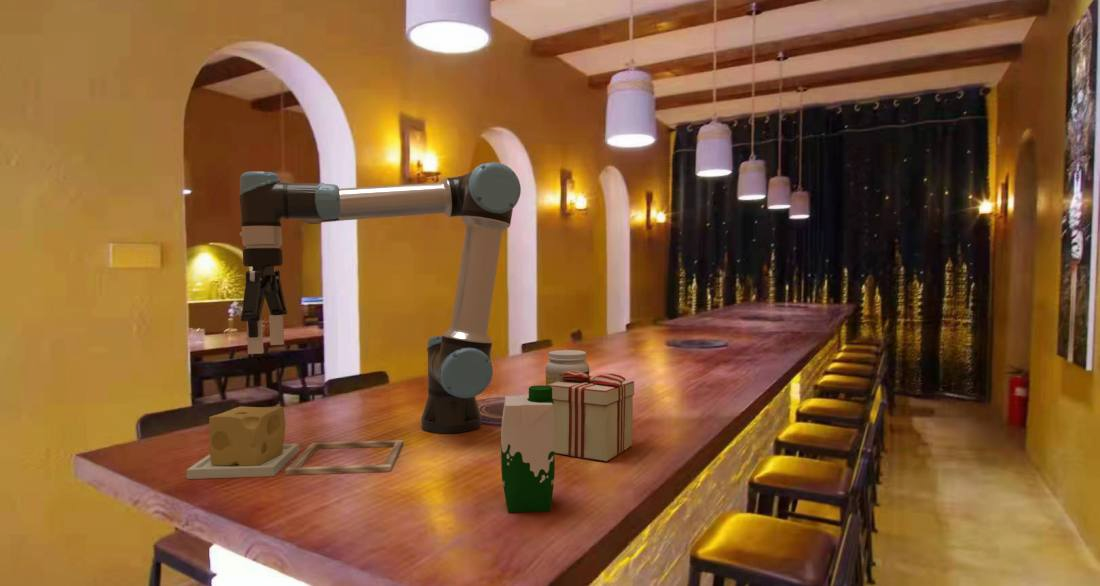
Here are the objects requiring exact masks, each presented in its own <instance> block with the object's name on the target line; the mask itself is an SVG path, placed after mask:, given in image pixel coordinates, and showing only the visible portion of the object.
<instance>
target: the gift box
mask: <svg viewBox="0 0 1100 586" xmlns="http://www.w3.org/2000/svg"><path fill="white" fill-rule="evenodd" d="M559 376H561V377H563V378H560V379H563V380H561V381H558V382H555V383H552V384H548V385H546V384H545V386H550V387H552V398H553V402H554V404H553V408H554V428H555V455H556V454H557V455H564V456H569V457H576V458H580V459H587V460H595V461H601V462H608V461H609V460H611V459H612V458H615V457H616V456H618V455H620V454H621V453H624V452H625V451H626V450H628V449H630V448H631V447H633V415H634V414H633V411H634V410H633V407H634V406H633V404H634V403H633V401H634V400H633V399H634V398H633V397H634V395H635V381H633V380H629V379H628V380H627V379H626V377H624V376H622V375H619V374H616V373H605V374H603V373H602V374H599V375H596V376H593V375H590V374H589V375H588V374H586V373H584V372H581V371H577V370H569V371H565V372H563V373H561V374H560V375H559ZM630 446H631V447H630ZM629 447H630V448H629ZM627 448H628V449H627ZM624 450H625V451H624Z"/></svg>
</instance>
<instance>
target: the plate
mask: <svg viewBox="0 0 1100 586" xmlns="http://www.w3.org/2000/svg"><path fill="white" fill-rule="evenodd" d="M299 448H300V444H299V443H284V445H283V453H282V454H280V455H278V456H276V457H274V458H272V459H270V460H268V461H266V462H264V463H262V464H260V465H259V466H239V464H234V465H212V464H211V459H210V453H208V454H207V455H206V456H205V457H203V458H202V459H200V460H198V461H197V462H196V463H193V465H191V466H190V467H188V468H187V469H186V479H187V480H196V479H199V480H201V479H203V480H204V479H230V478H258V477H259V478H260V477H262V478H264V477H275V476H276V475H277V474H278V473H279V472H280V471H281V470H282V469H283V468H284V467H285V466H286V465H287V464H288V463H289V462H290V461H291V460H292V459H293V458H294V457H295V456H296V455H297V454H298V453H300V449H299Z"/></svg>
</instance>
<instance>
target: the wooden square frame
mask: <svg viewBox="0 0 1100 586" xmlns="http://www.w3.org/2000/svg"><path fill="white" fill-rule="evenodd" d="M403 446H404V440H403V439H398V440H397V439H394V440H393V439H391V440H390V439H389V440H361V441H360V440H359V441H358V440H357V441H354V440H353V441H321V442H320V441H319V442H318V441H317V442H312V443H310V445H308V446H307V448H306V449H304V451H303V452H301V454H300V455H299V456H298V457H296V459H294V461H293V462H292V463H291V464H290V465H288V466H287V468H285V470H284V472H285V476H297V475H302V476H303V475H325V474H326V475H329V474H331V475H332V474H334V475H335V474H357V473H358V474H361V473H365V474H366V473H387V472H389V473H390V472H391V471H392V469H393V467H394V465H395V463H396V461H397V459H398V457H399V454H400V452H401V451H402V448H403ZM378 447H379V448H385V447H386V448H388V447H389V448H390V447H392V448H391V451H390V452H389V454H388V455H387V458H386V459H385V462H384V463H383V464H361V465H359V464H358V465H357V464H355V465H329V466H327V465H326V466H325V465H324V466H303V465H305V463H306V462H307V461H308V460H309V459H310V458H311V457H312V456H313V455H314V453H315V452H316V451H317V450H319V449H321V450H322V449H351V448H355V449H357V448H358V449H359V448H378ZM302 466H303V467H302Z"/></svg>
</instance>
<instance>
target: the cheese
mask: <svg viewBox="0 0 1100 586" xmlns="http://www.w3.org/2000/svg"><path fill="white" fill-rule="evenodd" d="M208 421H209V422H208V430H209V433H208V434H209V439H208V440H209V443H208V444H209V445H208V446H209V454H210V459H211V464H212V465H234V464H239V466H259V465H260V464H262V463H264V462H266V461H268V460H270V459H272V458H274V457H276V456H278V455H280V454H282V453H283V445H284V444H285V435H286V417H285V409H284V406H264V407H262V406H261V407H259V406H242V405H241V406H238V407H237V406H236V407H234V408H232V409H230V410H226V411H224V412H221V413H218V414H215V415H211V416H209V420H208Z"/></svg>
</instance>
